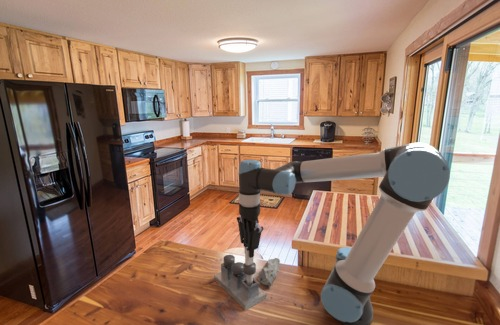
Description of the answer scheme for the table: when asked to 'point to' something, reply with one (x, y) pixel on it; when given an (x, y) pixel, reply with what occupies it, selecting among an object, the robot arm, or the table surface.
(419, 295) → the table surface
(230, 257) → the knob
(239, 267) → the knob
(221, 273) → the square socket rack
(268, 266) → the rock
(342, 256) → the robot arm
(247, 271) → the knob
